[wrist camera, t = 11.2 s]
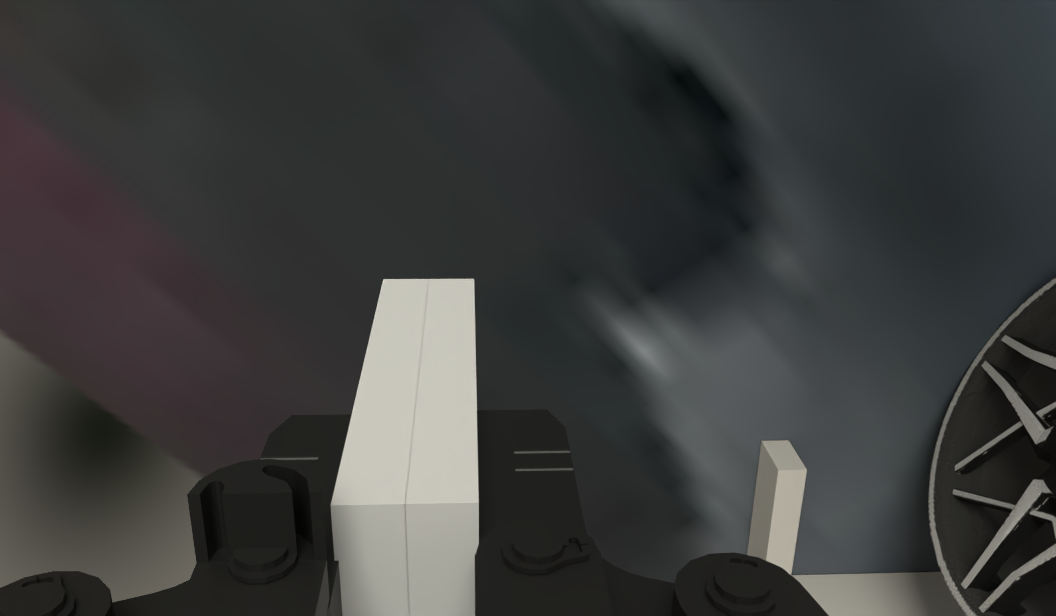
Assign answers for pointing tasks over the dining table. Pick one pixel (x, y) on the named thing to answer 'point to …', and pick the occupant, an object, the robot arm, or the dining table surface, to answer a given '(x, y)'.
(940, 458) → the wheel rim
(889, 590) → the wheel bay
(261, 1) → the dining table surface
